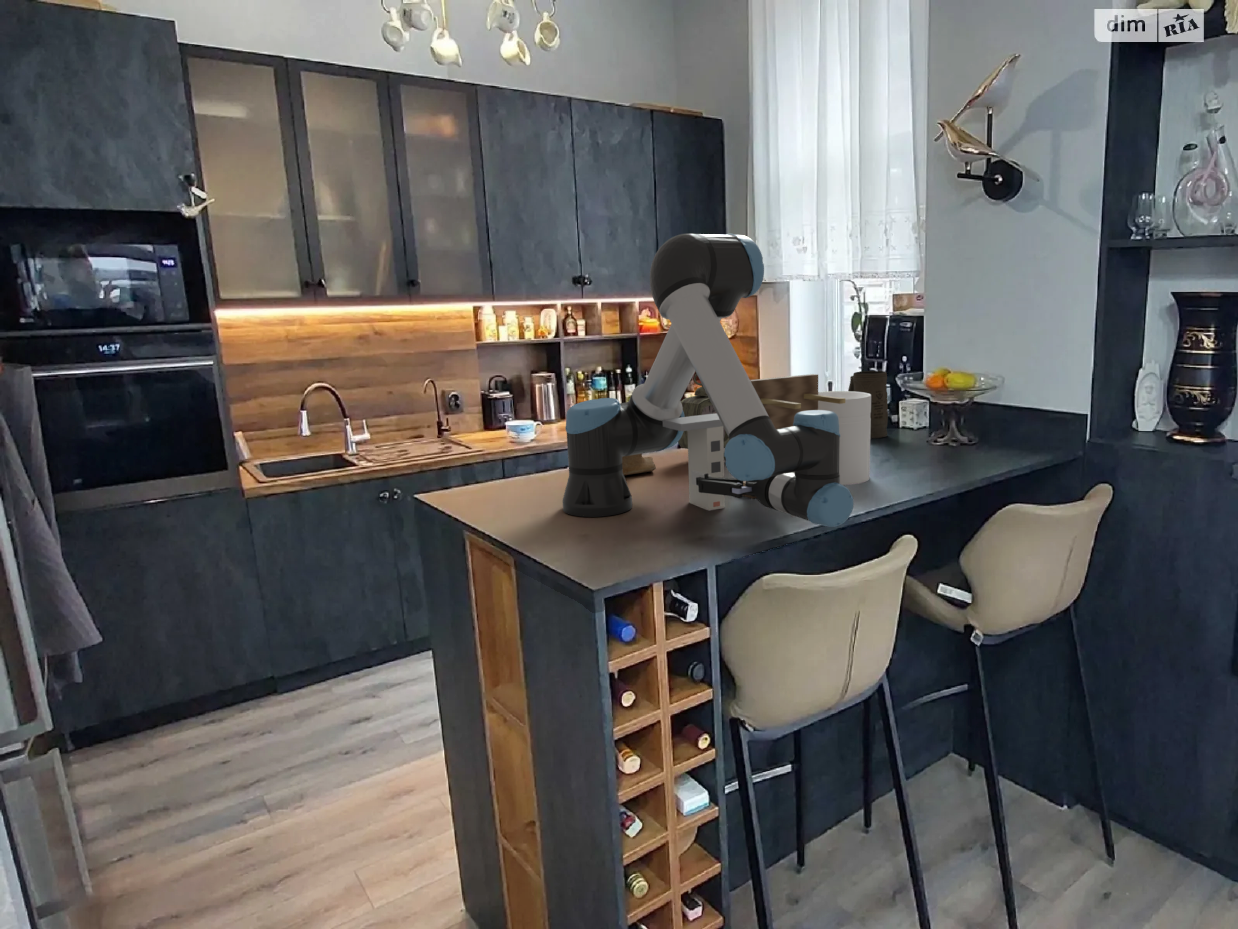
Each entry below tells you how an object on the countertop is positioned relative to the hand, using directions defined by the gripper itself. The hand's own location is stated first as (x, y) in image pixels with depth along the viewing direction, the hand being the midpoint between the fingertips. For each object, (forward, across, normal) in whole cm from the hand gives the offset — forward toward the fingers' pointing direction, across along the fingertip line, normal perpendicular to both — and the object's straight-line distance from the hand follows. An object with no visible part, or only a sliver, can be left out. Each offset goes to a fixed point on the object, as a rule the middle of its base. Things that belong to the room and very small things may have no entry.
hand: (721, 472), depth 167 cm
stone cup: (+44, 0, -8) cm, 45 cm away
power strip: (+6, 0, -8) cm, 10 cm away
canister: (+11, +39, -8) cm, 41 cm away
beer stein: (+52, +84, -8) cm, 99 cm away
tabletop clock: (+47, +24, -8) cm, 53 cm away
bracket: (+2, +20, -8) cm, 21 cm away
